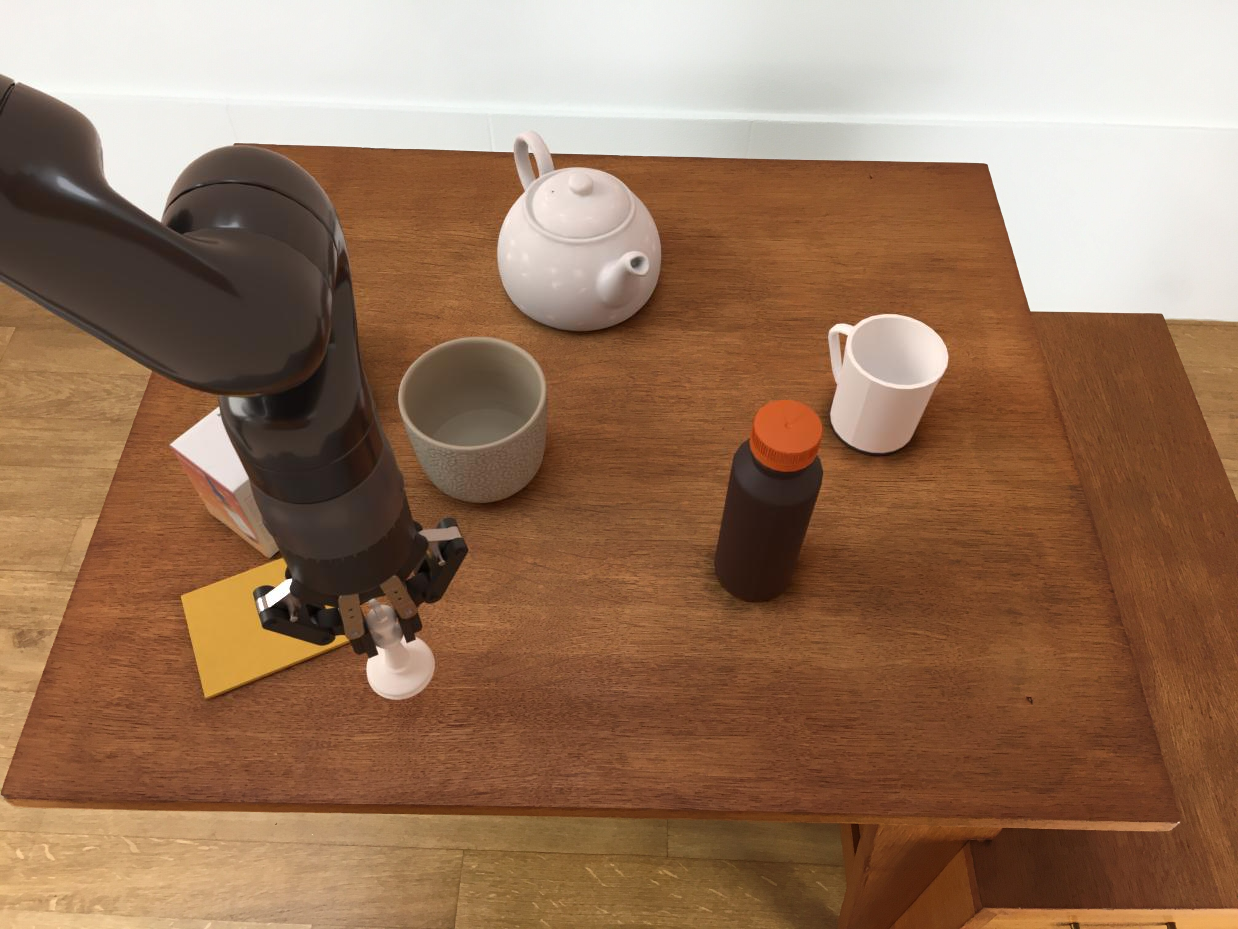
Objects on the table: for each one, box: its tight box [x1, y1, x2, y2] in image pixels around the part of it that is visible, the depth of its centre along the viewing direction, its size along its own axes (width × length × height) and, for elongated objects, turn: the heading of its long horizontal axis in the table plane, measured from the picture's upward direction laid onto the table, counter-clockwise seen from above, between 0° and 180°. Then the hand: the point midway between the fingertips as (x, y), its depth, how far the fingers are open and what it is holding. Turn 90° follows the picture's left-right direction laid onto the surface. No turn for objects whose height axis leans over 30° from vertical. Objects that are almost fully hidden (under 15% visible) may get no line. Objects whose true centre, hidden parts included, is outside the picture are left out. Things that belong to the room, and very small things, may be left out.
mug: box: [827, 313, 949, 456], centre depth 89 cm, size 11×9×10 cm
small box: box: [169, 406, 280, 559], centre depth 82 cm, size 8×6×10 cm
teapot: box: [496, 130, 662, 332], centre depth 99 cm, size 19×18×14 cm
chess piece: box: [365, 598, 436, 701], centre depth 67 cm, size 5×5×10 cm
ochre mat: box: [180, 557, 351, 701], centre depth 80 cm, size 12×10×1 cm
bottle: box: [713, 399, 824, 602], centre depth 75 cm, size 7×7×20 cm
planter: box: [397, 336, 549, 504], centre depth 85 cm, size 12×12×11 cm
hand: (388, 637), depth 67 cm, fingers closed on chess piece
